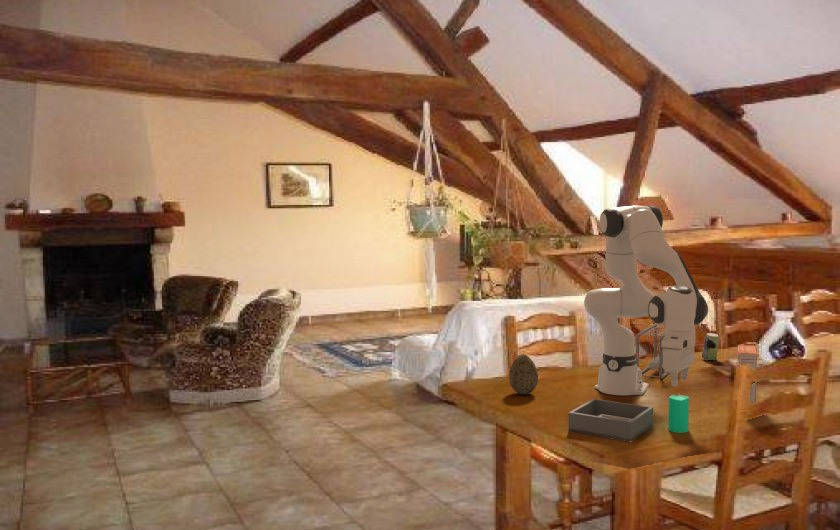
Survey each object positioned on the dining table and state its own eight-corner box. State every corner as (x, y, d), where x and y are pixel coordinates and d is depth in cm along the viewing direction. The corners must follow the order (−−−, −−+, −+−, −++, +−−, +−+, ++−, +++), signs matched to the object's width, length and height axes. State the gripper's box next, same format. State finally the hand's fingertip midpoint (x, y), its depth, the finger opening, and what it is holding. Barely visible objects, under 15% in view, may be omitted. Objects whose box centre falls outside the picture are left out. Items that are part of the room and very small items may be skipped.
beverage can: (706, 358, 347) (706, 331, 346) (721, 360, 341) (722, 333, 340) (698, 360, 343) (699, 333, 342) (714, 362, 337) (715, 335, 336)
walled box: (593, 416, 257) (593, 398, 257) (653, 425, 246) (653, 407, 245) (568, 431, 241) (568, 412, 241) (630, 442, 230) (631, 422, 229)
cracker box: (735, 403, 271) (737, 344, 270) (754, 404, 269) (756, 345, 267) (736, 413, 258) (738, 352, 257) (756, 415, 256) (757, 353, 254)
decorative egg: (503, 394, 287) (502, 354, 286) (520, 389, 295) (520, 350, 293) (526, 399, 279) (526, 358, 278) (543, 394, 287) (544, 354, 286)
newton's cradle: (661, 380, 307) (662, 336, 305) (635, 377, 312) (636, 333, 311) (678, 365, 332) (679, 324, 331) (654, 363, 338) (654, 323, 336)
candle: (691, 429, 242) (692, 391, 241) (683, 434, 237) (684, 395, 236) (673, 425, 246) (673, 388, 245) (665, 430, 241) (665, 392, 240)
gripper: (679, 333, 249) (679, 375, 250) (659, 342, 232) (658, 387, 233) (699, 335, 245) (699, 377, 246) (680, 344, 229) (679, 390, 230)
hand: (679, 382), depth 240 cm, fingers open, 8 cm apart
